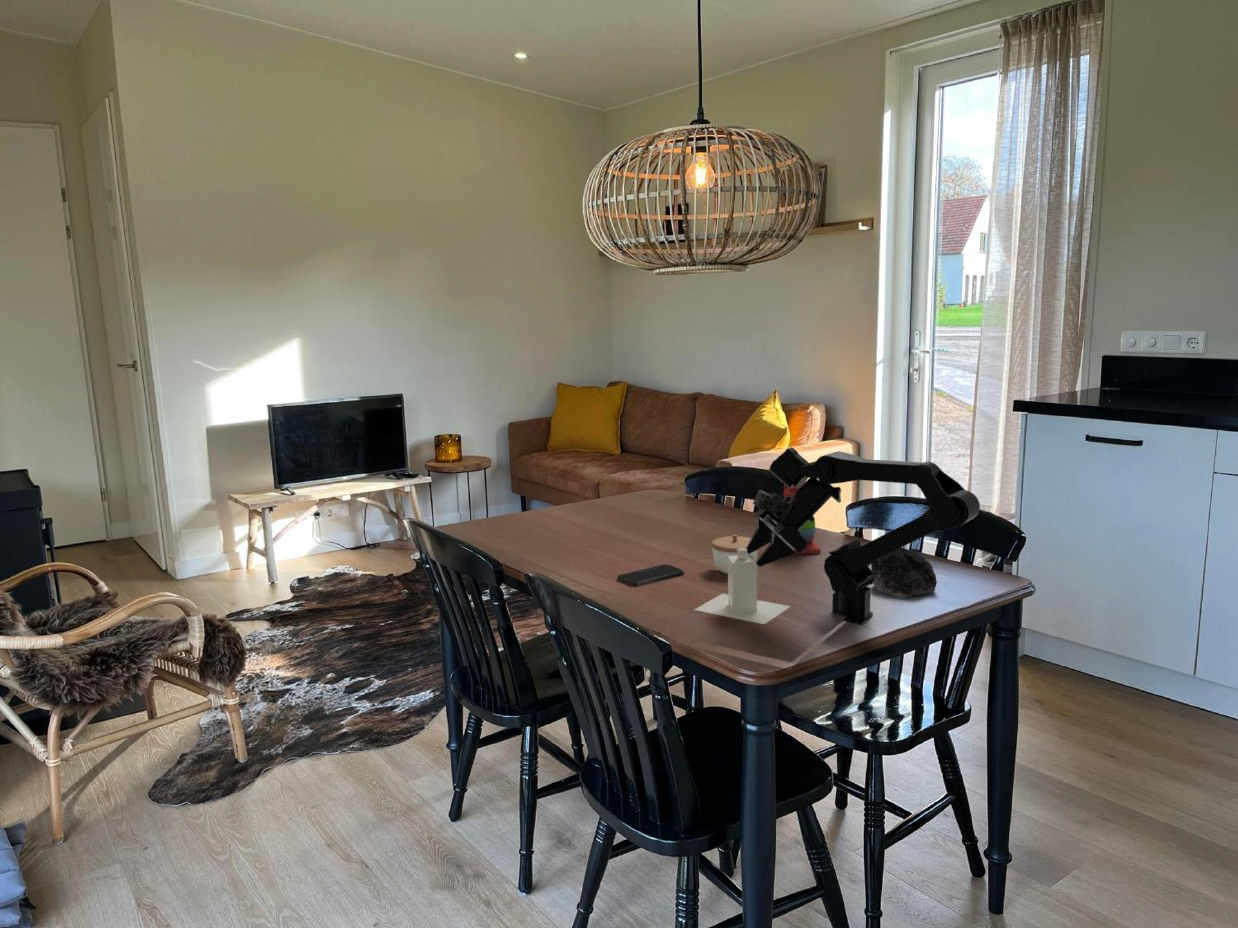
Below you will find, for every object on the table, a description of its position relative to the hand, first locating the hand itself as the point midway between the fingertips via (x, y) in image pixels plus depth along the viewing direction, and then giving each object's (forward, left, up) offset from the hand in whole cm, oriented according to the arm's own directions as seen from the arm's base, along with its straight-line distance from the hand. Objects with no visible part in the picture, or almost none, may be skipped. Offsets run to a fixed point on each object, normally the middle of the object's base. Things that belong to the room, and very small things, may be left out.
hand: (752, 558), depth 176 cm
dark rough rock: (-21, -31, -12) cm, 39 cm away
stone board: (+2, +1, -11) cm, 12 cm away
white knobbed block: (+2, +1, -10) cm, 11 cm away
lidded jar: (+16, -22, -12) cm, 29 cm away
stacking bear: (+12, -48, -12) cm, 51 cm away
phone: (+32, -10, -12) cm, 35 cm away
